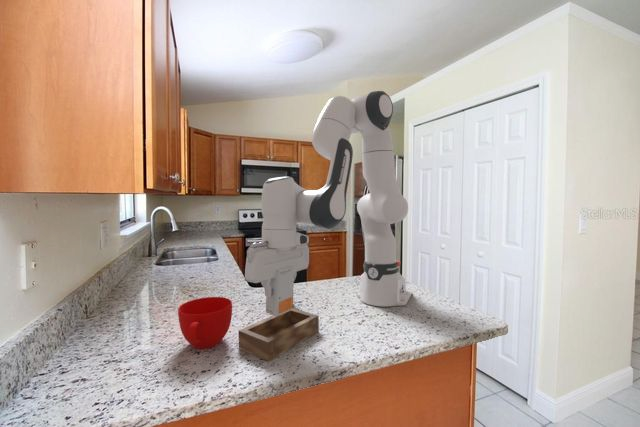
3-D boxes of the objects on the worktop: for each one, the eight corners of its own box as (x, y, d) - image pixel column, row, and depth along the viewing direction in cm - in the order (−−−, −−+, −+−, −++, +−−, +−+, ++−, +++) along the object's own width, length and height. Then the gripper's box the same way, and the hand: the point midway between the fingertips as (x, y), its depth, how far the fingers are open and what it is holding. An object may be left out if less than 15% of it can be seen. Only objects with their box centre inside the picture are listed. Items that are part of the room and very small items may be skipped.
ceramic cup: (162, 366, 66) (161, 322, 66) (190, 332, 83) (189, 297, 83) (222, 364, 67) (221, 320, 67) (237, 331, 84) (236, 295, 84)
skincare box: (277, 317, 75) (278, 270, 74) (265, 312, 77) (266, 267, 76) (293, 310, 80) (294, 266, 79) (281, 305, 82) (282, 263, 81)
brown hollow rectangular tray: (290, 322, 89) (290, 307, 89) (318, 331, 83) (318, 315, 83) (238, 348, 74) (238, 330, 74) (268, 361, 68) (268, 342, 68)
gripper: (256, 245, 67) (257, 306, 68) (312, 236, 84) (313, 285, 84) (238, 243, 71) (239, 300, 72) (295, 234, 87) (296, 281, 88)
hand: (279, 292), depth 78 cm, fingers closed on skincare box, 6 cm apart
